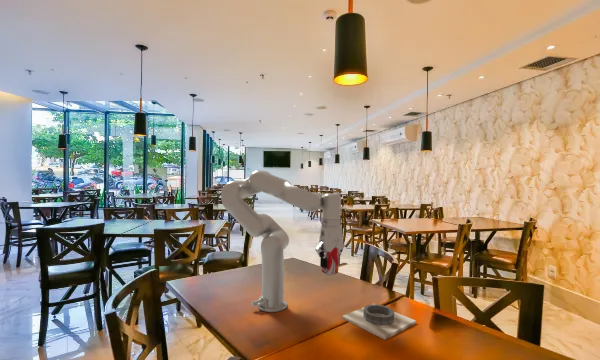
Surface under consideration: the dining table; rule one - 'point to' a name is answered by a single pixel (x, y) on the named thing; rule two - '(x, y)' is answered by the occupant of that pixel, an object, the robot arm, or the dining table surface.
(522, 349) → the dining table surface
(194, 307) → the dining table surface
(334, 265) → the soda can
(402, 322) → the socket board
